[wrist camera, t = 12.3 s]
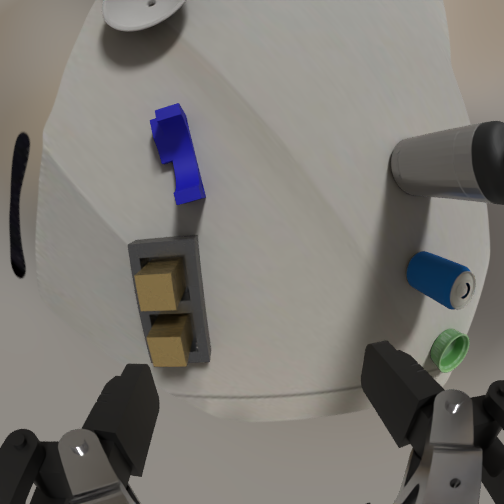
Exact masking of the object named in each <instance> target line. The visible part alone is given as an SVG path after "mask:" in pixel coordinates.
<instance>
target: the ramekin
mask: <svg viewBox="0 0 504 504" xmlns="http://www.w3.org/2000/svg"><path fill="white" fill-rule="evenodd" d="M468 348H469V338H468V336H467V335H465V334H462V333H460V332H458V331H456V330H455V329H448V330H445V331H444V332H442V333H441V334H440V335H439V336H438V338H437V339H436V340H435V342H434V344H433V346H432V349H431V359H432V360H433V362H434V363H435V364H436V365H437V366H438V368H439V370H440V371H441V372H443V373H447V372H450V371H452V370H453V369H455V368H456V367H457V366H458V365H459V364H460V363H461V362H462V360H463V359H464V357H465V355H466V353H467V351H468Z"/></svg>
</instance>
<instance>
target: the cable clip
mask: <svg viewBox="0 0 504 504" xmlns="http://www.w3.org/2000/svg"><path fill="white" fill-rule="evenodd" d="M155 114H156V118H155V119H152V120H150V124H151V129H152V133H153V138H154V141H155V143H156V146H157V149H158V152H159V155H160V159H161V163H162V164H167V163H170V162H173V165H174V170H175V177H176V191H175V192H174V196H175V200H176V204H177V205H180V204H184V203H188V202H191V201H195V200H198V199H202V198H205V197H206V195H205V191H204V188H203V184H202V180H201V176H200V172H199V168H198V164H197V160H196V156H195V151H194V147H193V143H192V139H191V135H190V131H189V126H188V122H187V118H186V115H185V113H184V111H183V110H182V108H181V106H180V104H179V103H177V104H174V105H171V106H167V107H164V108H161V109H158V110H155Z"/></svg>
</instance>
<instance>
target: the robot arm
mask: <svg viewBox="0 0 504 504" xmlns="http://www.w3.org/2000/svg"><path fill="white" fill-rule="evenodd" d="M391 168H392V173H393V176H394V179H395V181H396V183H397V184H398V185H399V187H400V188H401V189H402V190H403V191H404V192H406V193H408V194H410V195H415V196H427V197H438V198H449V199H458V200H468V201H476V202H485V203H493V204H502V205H504V123H503V122H500V121H491V122H485V123H480V124H474V125H468V126H464V127H459V128H453V129H448V130H444V131H439V132H434V133H430V134H425V135H420V136H416V137H412V138H407V139H404V140H402V141H400V142H399V143H398V144H397V145H396V147H395V148H394V150H393V153H392V157H391ZM361 384H362V388H363V391H364V393H365V394H366V396H367V397H368V399H369V401H370V402H371V404H372V405H373V407H374V408H375V410H376V412H377V413H378V415H379V416H380V418H381V419H382V421H383V423H384V424H385V426H386V428H387V429H388V431H389V433H390V434H391V436H392V437H393V439H394V441H395V442H396V444H397V445H398V447H399V448H401V447H403V446H406V445H408V444H411V445H412V447H413V448H412V451H411V453H410V456H409V460H408V464H407V468H406V471H405V475H404V478H403V482H402V485H401V488H400V491H399V493H398V496H397V498H396V500H395V502H394V503H393V504H479V498H480V489H481V481H482V483H483V484H484V486H485V488H486V489H487V491H488V492H489V494H490V496H491V497H492V499H493V500H494V502H495V504H504V445H503V444H502V442H501V441H500V440H499V439H498V437H497V435H498V434H499V432H500V431H501V429H503V430H504V380H499V381H495V382H493V383H492V384H491V385H490V386H489V389H488V391H487V393H486V395H482V396H477V397H472V398H470V397H469V396H468V395H467V394H466V393H464V392H462V391H459V390H454V389H449V390H444V389H443V388H442V387H441V386H440V385H439V384H438V383H437V382H436V381H435V379H434V378H433V377H432V376H431V375H430V374H429V373H428V372H427V371H426V370H424V368H423V367H422V366H421V365H420V364H418V362H417V361H416V360H415V359H414V358H413V357H412V356H411V355H409V354H407V353H405V352H403V351H401V350H396V349H395V348H394V347H393V346H392V345H391V344H390V343H389V342H388V341H381V342H377V343H372V344H368V345H367V347H366V350H365V356H364V363H363V369H362V375H361ZM158 413H159V396H158V393H157V390H156V387H155V383H154V380H153V377H152V373H151V370H150V367H149V365H147V364H127V365H126V367H125V369H124V370H123V372H122V374H121V376H115V377H114V378H113V379H111V380H110V381H109V382H108V383H107V384H106V385H105V387H104V389H103V390H102V392H101V395H100V396H99V397H98V399H97V402H96V403H95V405H94V406H93V408H92V410H91V412H90V414H89V416H88V418H87V420H86V421H85V423H84V425H83V427H82V429H75V430H71V431H69V432H67V433H66V434H64V435H63V436H62V438H61V439H60V441H59V442H40V441H39V440H38V438H37V437H36V435H35V434H34V433H33V432H32V431H30V430H27V429H19V430H16V431H14V432H12V433H10V435H8V437H7V438H6V439H5V441H4V443H3V444H2V446H1V448H0V504H25V502H26V499H27V496H28V494H29V492H30V489H31V487H32V484H33V483H34V484H35V485H36V486H37V487H36V489H35V492H34V494H33V497H32V499H31V502H30V504H141V502H140V501H139V499H138V498H137V496H136V495H135V493H134V491H133V490H132V488H131V486H130V485H129V484H128V481H129V478H130V475H133V476H139V477H142V473H143V469H144V465H145V461H146V457H147V453H148V449H149V446H150V442H151V438H152V434H153V431H154V427H155V423H156V419H157V416H158ZM367 504H370V503H367Z"/></svg>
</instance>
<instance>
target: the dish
mask: <svg viewBox="0 0 504 504" xmlns="http://www.w3.org/2000/svg"><path fill="white" fill-rule="evenodd" d="M185 1H186V0H103V4H102V15H103V18H104V20H105V22H106V23H107V24H108V25H109V26H110V27H112V28H114V29H116V30H119V31H126V32H131V31H139V30H143V29H147V28H150V27H152V26H155V25H157V24H159V23H161V22H162V21H164V20H166V19H167V18H169V17H170V16H171V15H173V14H174V13H175V12H176V11H177V10H178V9H179V8H180V7H181V6H182V5H183V4H184V3H185ZM151 4H155V5H153V6H151V7H149V6H150V5H151Z"/></svg>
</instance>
